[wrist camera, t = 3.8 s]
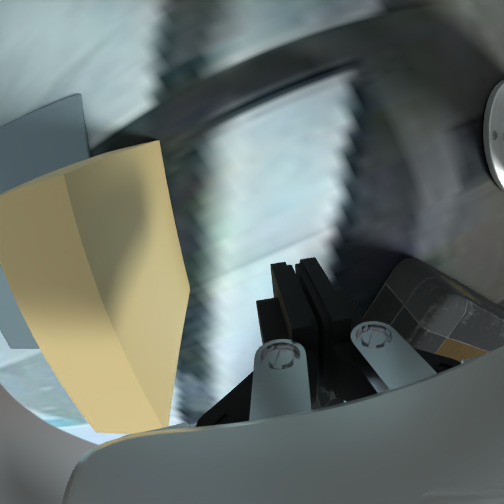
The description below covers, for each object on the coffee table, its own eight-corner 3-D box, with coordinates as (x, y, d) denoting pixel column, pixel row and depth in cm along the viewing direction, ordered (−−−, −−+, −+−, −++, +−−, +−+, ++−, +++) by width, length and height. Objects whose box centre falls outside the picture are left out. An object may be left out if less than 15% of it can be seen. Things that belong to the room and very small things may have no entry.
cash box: (294, 401, 33) (307, 456, 26) (400, 248, 26) (448, 291, 19) (427, 416, 38) (447, 451, 31) (511, 313, 32) (543, 344, 24)
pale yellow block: (159, 140, 21) (64, 174, 8) (190, 288, 25) (167, 434, 13) (104, 152, 20) (-24, 205, 8) (141, 294, 25) (91, 431, 13)
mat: (80, 94, 18) (78, 93, 18) (145, 341, 27) (144, 344, 27) (-55, 160, 18) (-58, 161, 18) (12, 346, 27) (10, 348, 27)
